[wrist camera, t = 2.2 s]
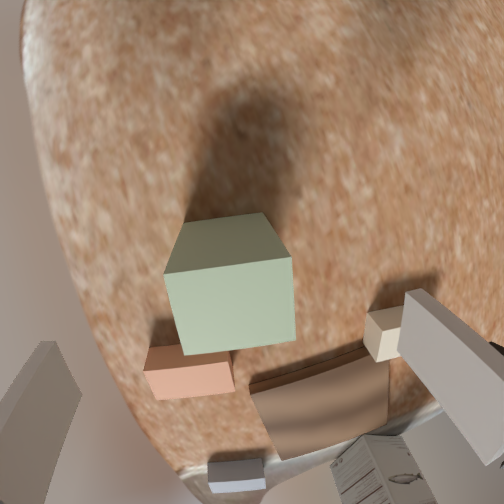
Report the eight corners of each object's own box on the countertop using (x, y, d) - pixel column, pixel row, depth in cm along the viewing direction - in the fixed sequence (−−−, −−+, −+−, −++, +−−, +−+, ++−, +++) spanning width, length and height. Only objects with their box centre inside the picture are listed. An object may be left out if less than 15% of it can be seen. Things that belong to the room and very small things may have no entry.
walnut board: (248, 384, 24) (250, 394, 23) (382, 339, 24) (388, 347, 23) (279, 452, 28) (281, 460, 27) (382, 416, 28) (387, 423, 27)
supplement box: (402, 433, 31) (442, 506, 19) (367, 466, 33) (397, 535, 21) (363, 431, 29) (403, 518, 17) (326, 465, 31) (353, 546, 19)
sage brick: (183, 223, 19) (163, 274, 12) (262, 212, 19) (291, 256, 12) (194, 280, 21) (184, 355, 13) (268, 270, 21) (295, 340, 13)
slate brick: (211, 473, 29) (212, 493, 26) (207, 461, 28) (208, 482, 25) (262, 468, 30) (265, 488, 27) (261, 456, 29) (264, 477, 26)
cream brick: (361, 341, 24) (376, 362, 21) (366, 311, 23) (382, 331, 20) (418, 328, 25) (435, 345, 22) (424, 299, 24) (443, 316, 21)
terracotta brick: (160, 374, 23) (156, 399, 20) (149, 346, 22) (143, 371, 19) (232, 365, 24) (235, 391, 21) (226, 336, 23) (227, 361, 20)
